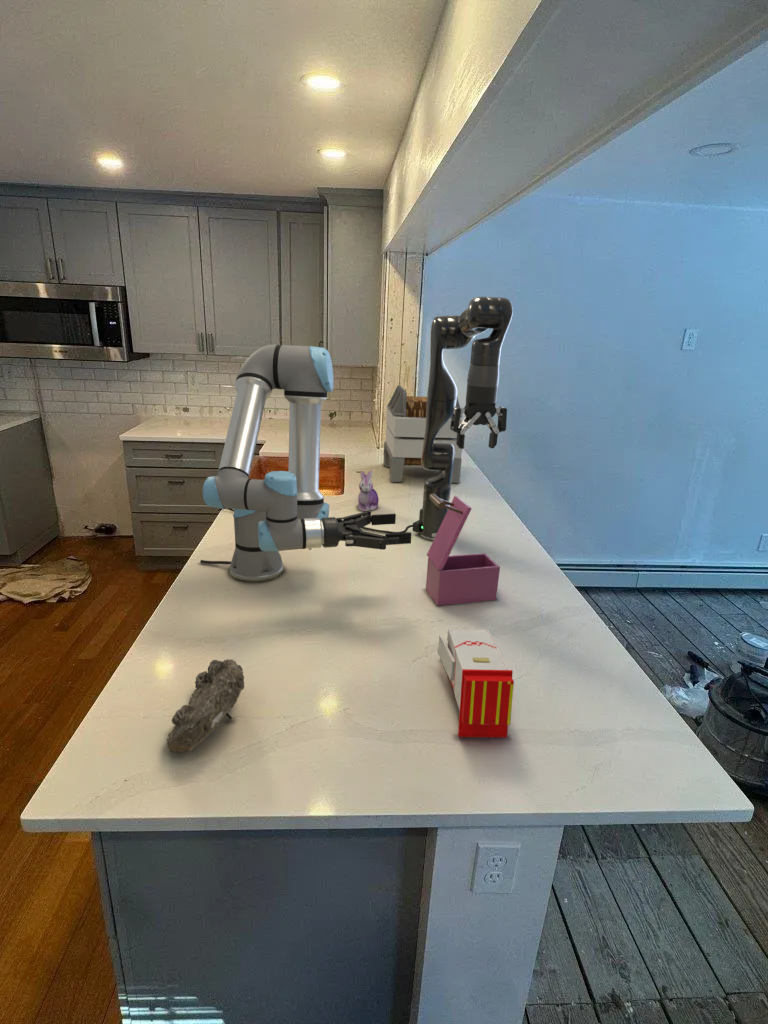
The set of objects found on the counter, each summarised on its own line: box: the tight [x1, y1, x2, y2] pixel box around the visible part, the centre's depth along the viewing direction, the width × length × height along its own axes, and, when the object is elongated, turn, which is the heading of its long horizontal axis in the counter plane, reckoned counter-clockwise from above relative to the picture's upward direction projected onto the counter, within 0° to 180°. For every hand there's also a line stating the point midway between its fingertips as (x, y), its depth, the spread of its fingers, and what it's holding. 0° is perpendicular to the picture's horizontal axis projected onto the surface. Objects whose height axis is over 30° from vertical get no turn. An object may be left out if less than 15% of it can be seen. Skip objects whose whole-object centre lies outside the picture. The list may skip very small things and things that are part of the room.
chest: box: [425, 552, 501, 607], centre depth 157 cm, size 18×9×10 cm, turn 106°
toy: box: [437, 628, 515, 738], centre depth 117 cm, size 12×13×30 cm
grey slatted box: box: [383, 384, 464, 484], centre depth 268 cm, size 34×33×41 cm
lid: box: [426, 494, 472, 570], centre depth 150 cm, size 18×9×8 cm
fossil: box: [166, 658, 245, 754], centre depth 106 cm, size 22×10×15 cm
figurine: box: [357, 470, 380, 512], centre depth 221 cm, size 9×10×15 cm
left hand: (402, 527), depth 147 cm, fingers open, 13 cm apart
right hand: (476, 448), depth 145 cm, fingers open, 8 cm apart
